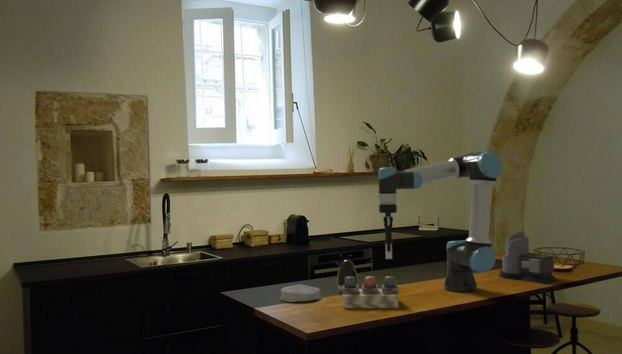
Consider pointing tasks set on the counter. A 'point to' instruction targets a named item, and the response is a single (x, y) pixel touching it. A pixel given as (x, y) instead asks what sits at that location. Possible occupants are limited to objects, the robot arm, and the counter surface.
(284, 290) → the food container
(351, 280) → the cap
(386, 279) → the cap
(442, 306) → the counter surface
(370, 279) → the middle cap
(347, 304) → the console
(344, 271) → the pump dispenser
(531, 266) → the juicer
